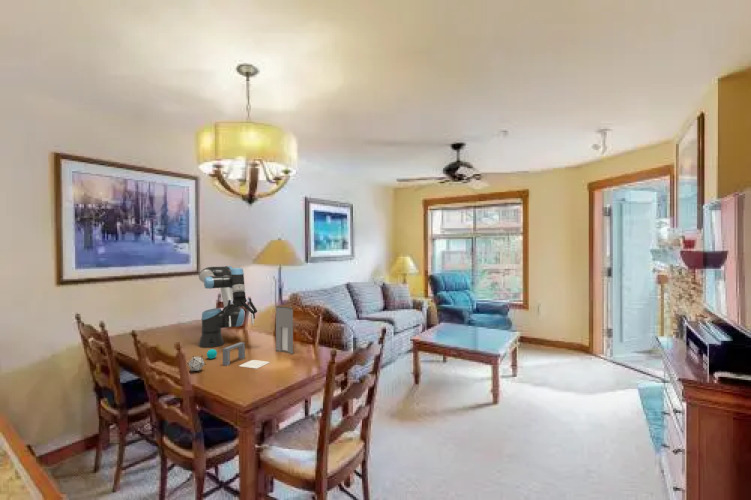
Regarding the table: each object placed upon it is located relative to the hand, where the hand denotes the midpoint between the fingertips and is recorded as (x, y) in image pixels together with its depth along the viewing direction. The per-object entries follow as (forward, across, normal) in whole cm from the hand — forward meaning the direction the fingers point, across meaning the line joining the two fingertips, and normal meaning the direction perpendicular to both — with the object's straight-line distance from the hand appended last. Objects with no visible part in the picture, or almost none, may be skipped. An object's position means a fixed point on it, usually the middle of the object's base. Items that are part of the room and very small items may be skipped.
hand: (241, 325), depth 238 cm
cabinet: (+19, +23, -4) cm, 30 cm away
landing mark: (+25, 0, -23) cm, 34 cm away
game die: (+24, -29, -19) cm, 42 cm away
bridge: (+22, -8, -12) cm, 26 cm away
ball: (+15, -18, -1) cm, 23 cm away
